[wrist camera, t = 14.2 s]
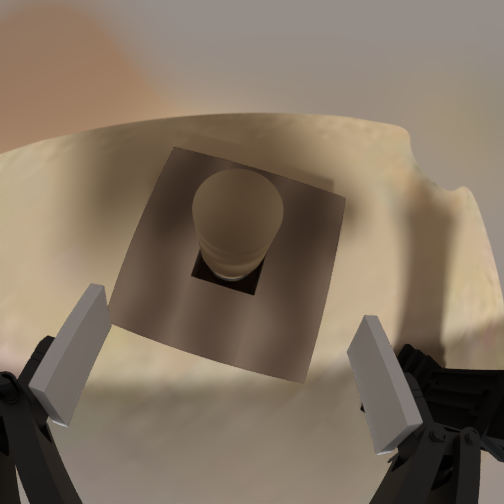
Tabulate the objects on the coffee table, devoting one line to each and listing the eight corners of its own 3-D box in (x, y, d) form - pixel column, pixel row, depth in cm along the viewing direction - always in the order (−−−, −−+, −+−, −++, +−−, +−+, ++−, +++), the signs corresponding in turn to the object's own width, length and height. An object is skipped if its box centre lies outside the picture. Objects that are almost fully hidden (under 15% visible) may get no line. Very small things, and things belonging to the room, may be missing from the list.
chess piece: (445, 382, 25) (596, 385, 6) (406, 442, 23) (552, 494, 4) (405, 344, 26) (581, 326, 7) (360, 409, 24) (532, 470, 5)
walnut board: (119, 322, 24) (103, 320, 20) (179, 169, 29) (174, 146, 25) (292, 376, 24) (304, 383, 21) (331, 215, 29) (345, 198, 25)
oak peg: (198, 283, 26) (178, 235, 14) (214, 238, 27) (210, 159, 15) (246, 298, 26) (270, 263, 14) (260, 252, 27) (292, 183, 15)
